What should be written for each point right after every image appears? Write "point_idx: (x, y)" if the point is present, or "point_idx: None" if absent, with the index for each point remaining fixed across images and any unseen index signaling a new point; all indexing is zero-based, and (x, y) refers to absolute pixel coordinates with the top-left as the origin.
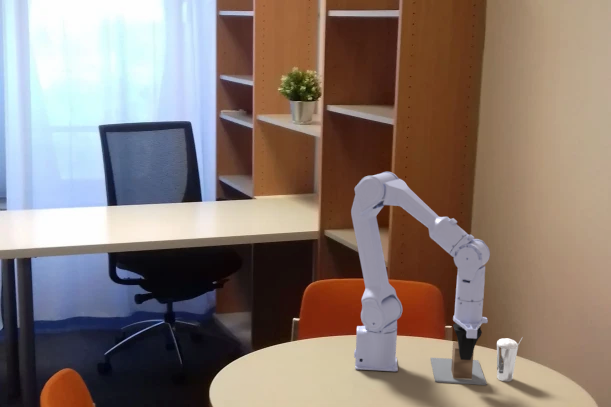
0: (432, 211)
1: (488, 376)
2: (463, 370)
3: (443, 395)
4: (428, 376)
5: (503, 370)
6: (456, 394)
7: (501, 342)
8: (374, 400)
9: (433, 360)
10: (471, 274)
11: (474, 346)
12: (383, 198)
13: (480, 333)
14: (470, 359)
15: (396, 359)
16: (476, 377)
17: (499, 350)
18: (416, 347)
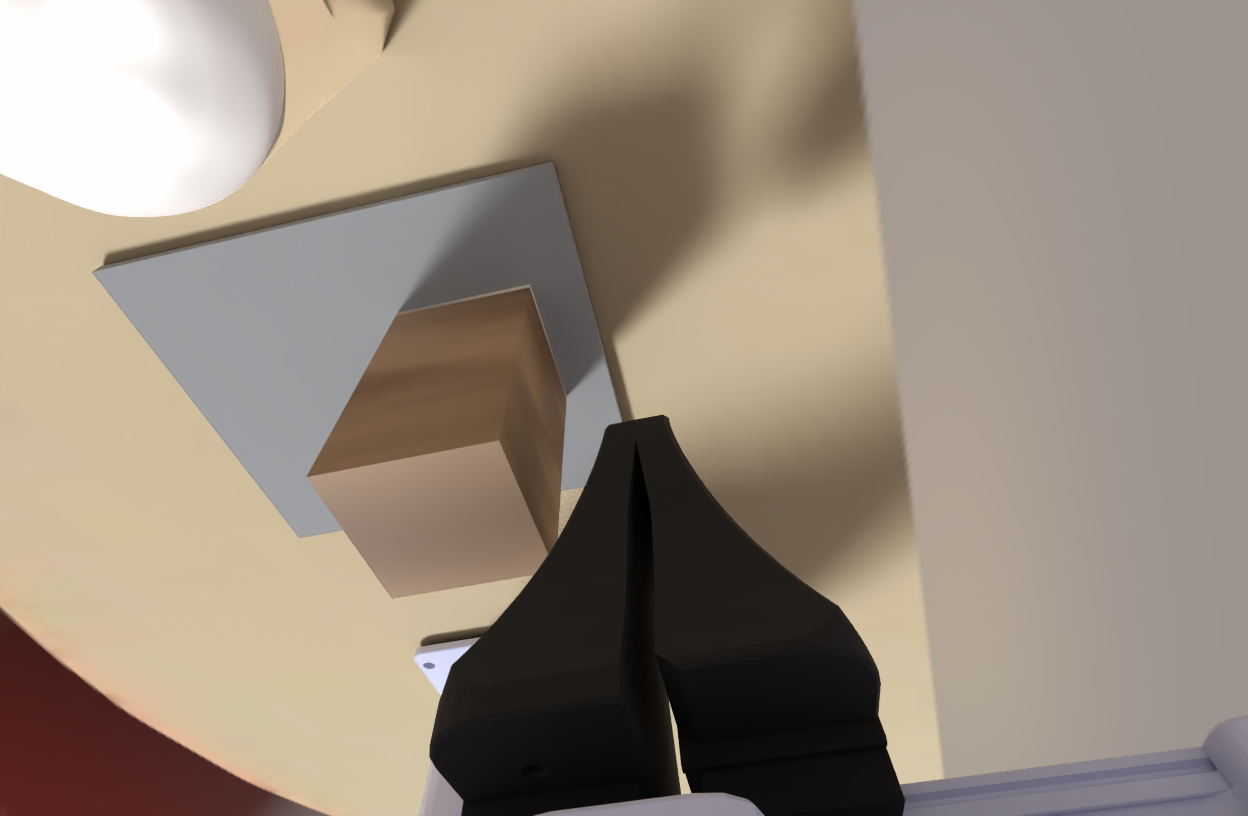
0: None
1: (355, 156)
2: (544, 377)
3: (814, 409)
4: (566, 505)
5: (371, 21)
6: (784, 346)
7: (190, 151)
8: (916, 630)
9: (335, 521)
10: None
11: (714, 501)
12: None
13: (856, 647)
14: (661, 416)
15: (449, 649)
16: (467, 253)
17: (285, 141)
18: (180, 603)
